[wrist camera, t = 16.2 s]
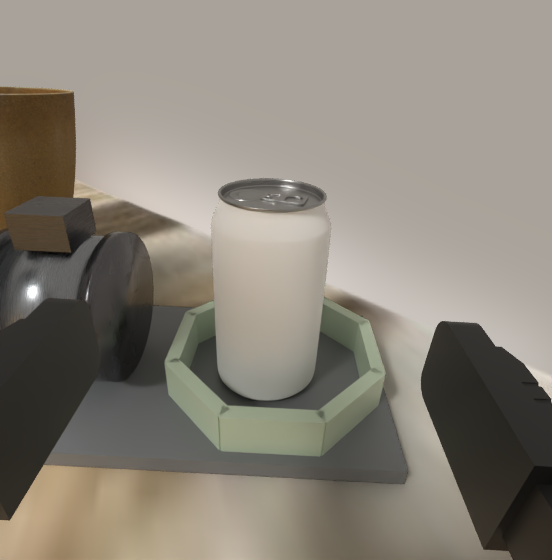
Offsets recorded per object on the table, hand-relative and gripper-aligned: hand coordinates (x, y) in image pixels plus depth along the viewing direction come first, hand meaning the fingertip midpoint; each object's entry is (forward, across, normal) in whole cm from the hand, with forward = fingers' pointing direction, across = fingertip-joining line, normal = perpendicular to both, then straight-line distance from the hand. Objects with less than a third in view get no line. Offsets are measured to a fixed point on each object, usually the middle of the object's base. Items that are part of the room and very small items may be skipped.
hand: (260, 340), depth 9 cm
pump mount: (+12, +4, +13) cm, 19 cm away
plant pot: (+31, +27, +14) cm, 44 cm away
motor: (+12, +12, +12) cm, 21 cm away
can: (+12, 0, +12) cm, 17 cm away
